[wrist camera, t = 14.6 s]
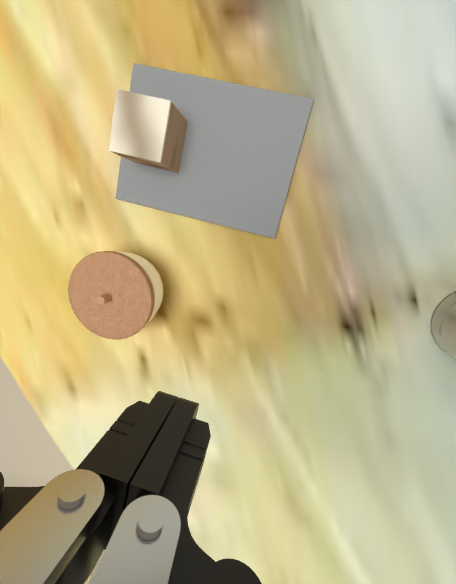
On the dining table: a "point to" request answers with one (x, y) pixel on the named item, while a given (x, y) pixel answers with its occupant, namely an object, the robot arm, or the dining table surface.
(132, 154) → the walnut cube
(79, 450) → the dining table surface
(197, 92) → the mat
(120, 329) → the lidded jar
